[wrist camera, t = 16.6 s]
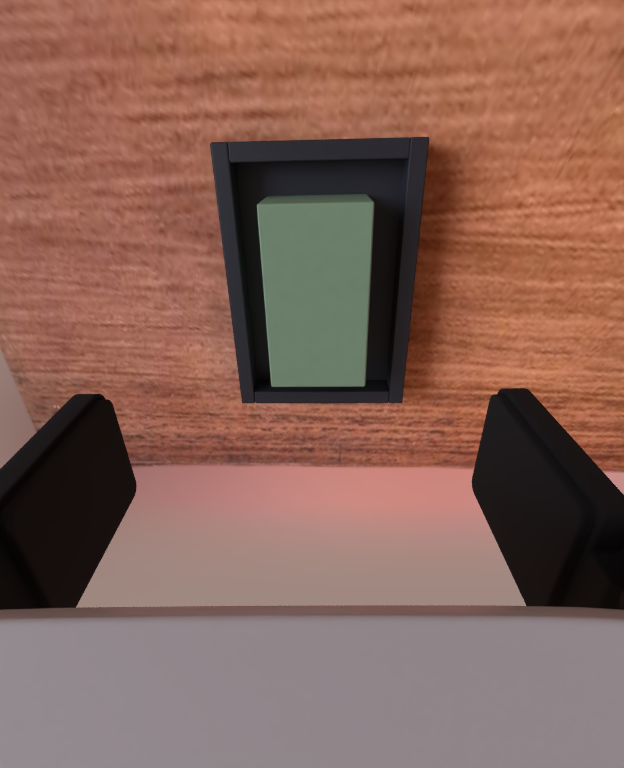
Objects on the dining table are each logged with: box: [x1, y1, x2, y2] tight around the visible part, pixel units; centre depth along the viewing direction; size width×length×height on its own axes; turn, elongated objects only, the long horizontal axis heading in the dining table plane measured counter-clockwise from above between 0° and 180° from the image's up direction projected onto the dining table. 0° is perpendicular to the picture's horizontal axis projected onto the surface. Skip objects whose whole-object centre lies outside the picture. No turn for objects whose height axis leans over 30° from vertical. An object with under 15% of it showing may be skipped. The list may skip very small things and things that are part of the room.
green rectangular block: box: [257, 194, 374, 387], centre depth 21 cm, size 5×9×4 cm, turn 1°
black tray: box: [210, 137, 429, 403], centre depth 22 cm, size 10×14×2 cm
